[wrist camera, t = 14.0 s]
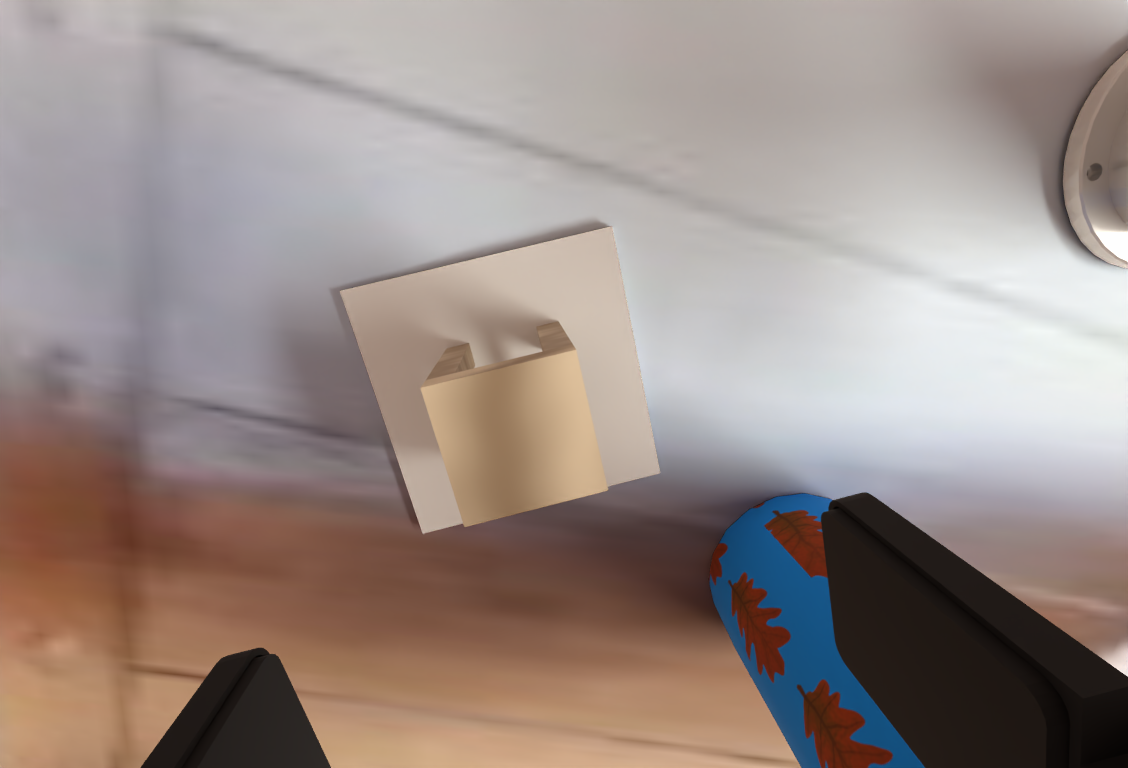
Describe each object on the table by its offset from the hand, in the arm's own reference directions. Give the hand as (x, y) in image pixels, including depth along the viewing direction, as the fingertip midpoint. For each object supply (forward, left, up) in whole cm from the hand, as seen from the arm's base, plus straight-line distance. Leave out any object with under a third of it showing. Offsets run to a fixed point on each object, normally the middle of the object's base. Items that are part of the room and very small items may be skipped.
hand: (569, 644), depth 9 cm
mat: (+1, +1, -21) cm, 21 cm away
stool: (+1, +1, -20) cm, 20 cm away
